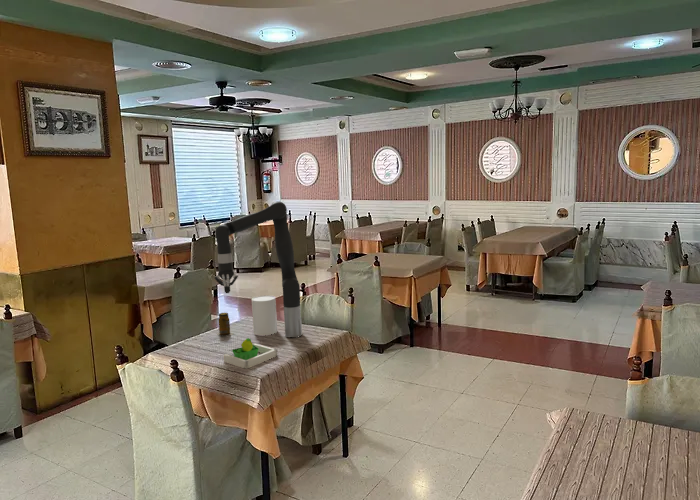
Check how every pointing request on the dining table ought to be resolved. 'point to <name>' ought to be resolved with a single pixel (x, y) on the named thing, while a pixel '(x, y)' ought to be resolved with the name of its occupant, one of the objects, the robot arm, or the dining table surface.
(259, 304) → the canister
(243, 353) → the fruit basket
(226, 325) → the condiment
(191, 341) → the dining table surface
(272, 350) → the corral
